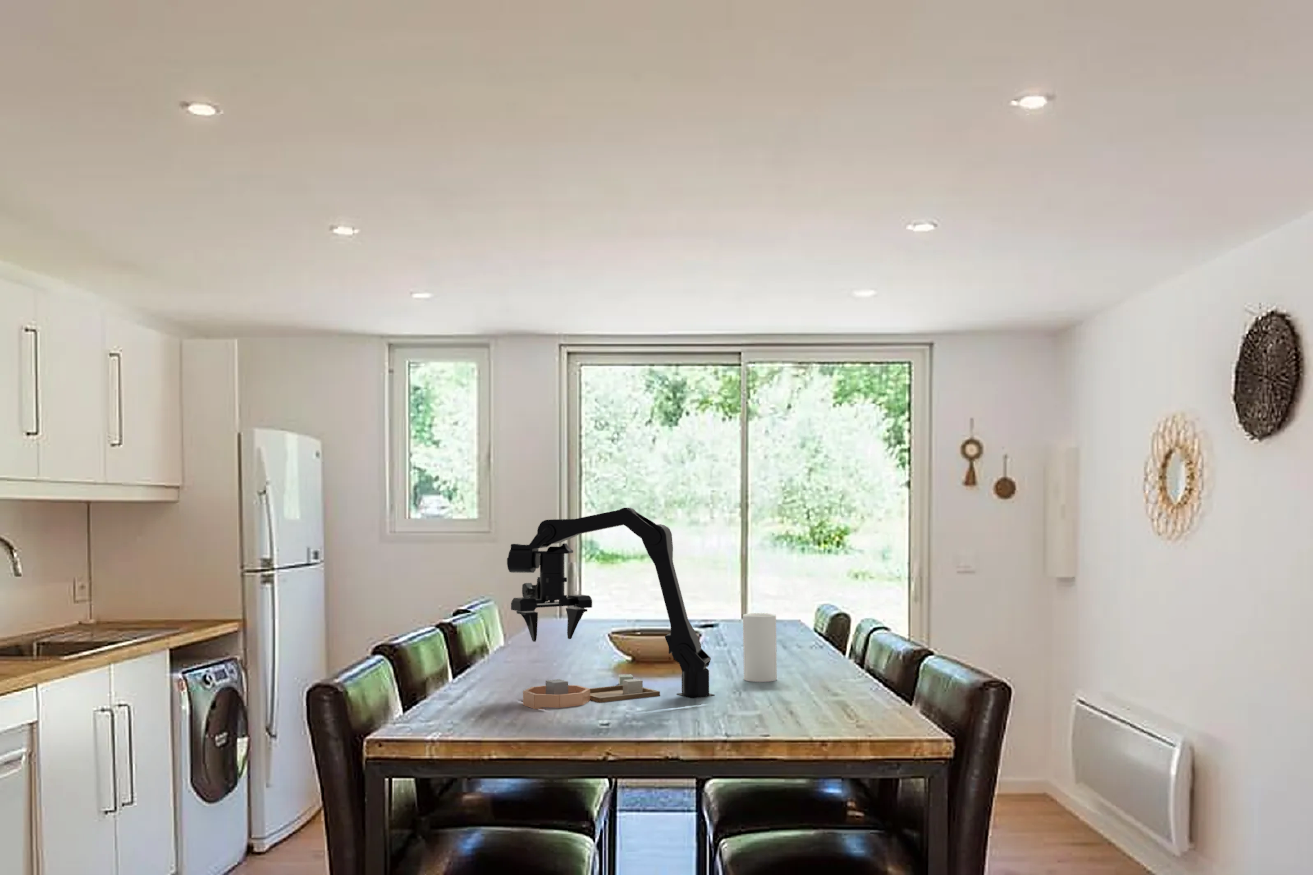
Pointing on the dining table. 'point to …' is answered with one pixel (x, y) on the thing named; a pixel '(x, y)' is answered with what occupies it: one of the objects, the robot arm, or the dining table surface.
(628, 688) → the grey small block
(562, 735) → the dining table surface
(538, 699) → the dish
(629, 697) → the tray
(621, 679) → the pale green block
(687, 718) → the dining table surface
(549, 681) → the grey block
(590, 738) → the dining table surface
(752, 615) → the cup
